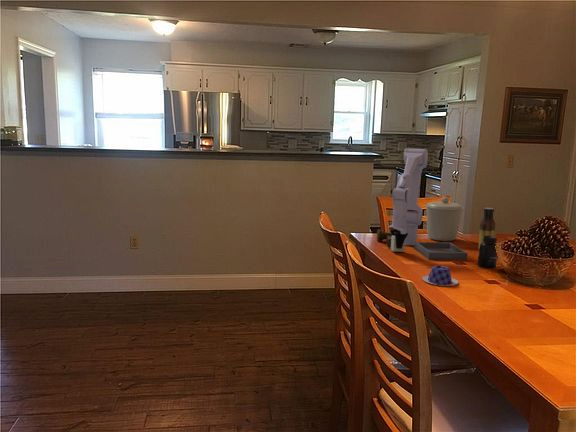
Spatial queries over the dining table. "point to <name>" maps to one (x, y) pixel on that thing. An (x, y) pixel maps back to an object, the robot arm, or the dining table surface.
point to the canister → (443, 219)
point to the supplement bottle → (488, 253)
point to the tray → (440, 251)
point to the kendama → (384, 237)
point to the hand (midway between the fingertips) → (397, 246)
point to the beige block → (393, 244)
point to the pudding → (440, 276)
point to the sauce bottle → (487, 225)
